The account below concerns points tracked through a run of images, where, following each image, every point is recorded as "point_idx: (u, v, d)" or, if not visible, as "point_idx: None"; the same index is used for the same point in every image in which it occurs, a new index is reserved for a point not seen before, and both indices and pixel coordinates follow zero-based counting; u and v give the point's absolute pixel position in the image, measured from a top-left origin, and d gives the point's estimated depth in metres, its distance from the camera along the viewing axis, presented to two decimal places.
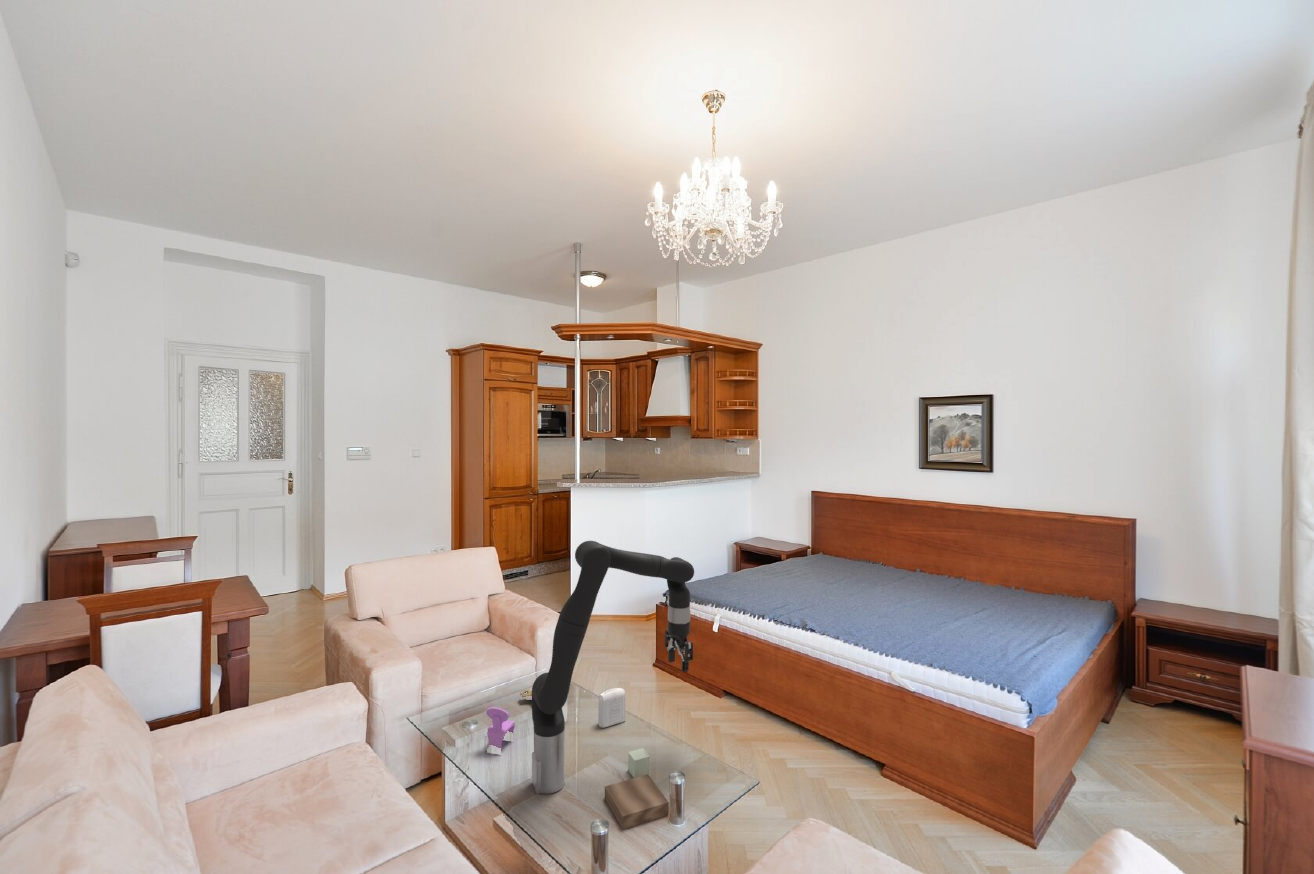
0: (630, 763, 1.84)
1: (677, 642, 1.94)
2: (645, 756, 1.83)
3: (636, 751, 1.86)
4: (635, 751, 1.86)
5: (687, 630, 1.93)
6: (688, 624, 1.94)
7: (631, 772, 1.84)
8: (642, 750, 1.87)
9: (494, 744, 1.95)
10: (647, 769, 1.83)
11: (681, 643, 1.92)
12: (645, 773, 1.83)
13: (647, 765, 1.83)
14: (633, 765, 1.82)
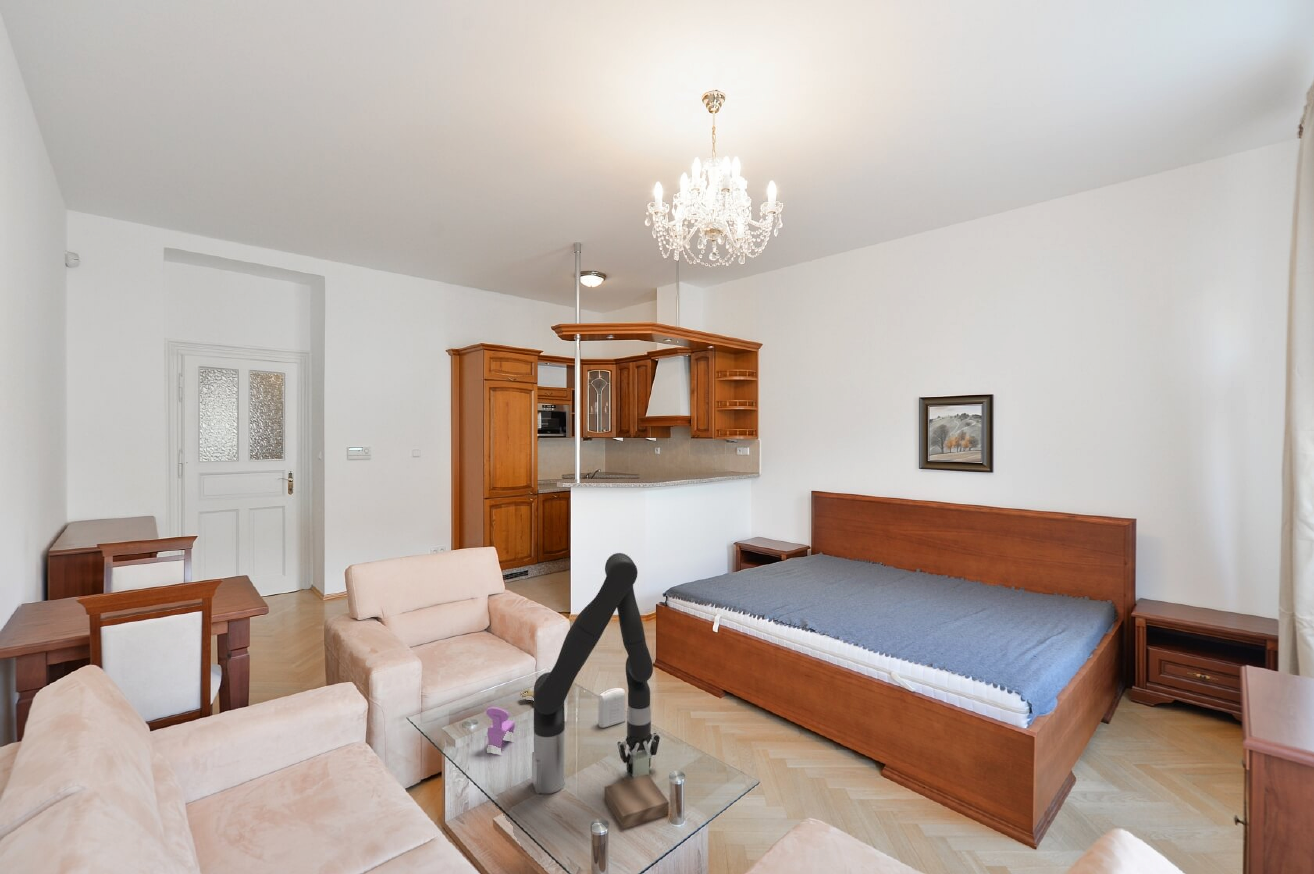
0: None
1: None
2: (645, 756, 1.83)
3: None
4: None
5: None
6: None
7: None
8: (642, 750, 1.87)
9: (494, 744, 1.95)
10: (647, 769, 1.83)
11: None
12: (645, 773, 1.83)
13: (647, 765, 1.83)
14: (633, 765, 1.82)
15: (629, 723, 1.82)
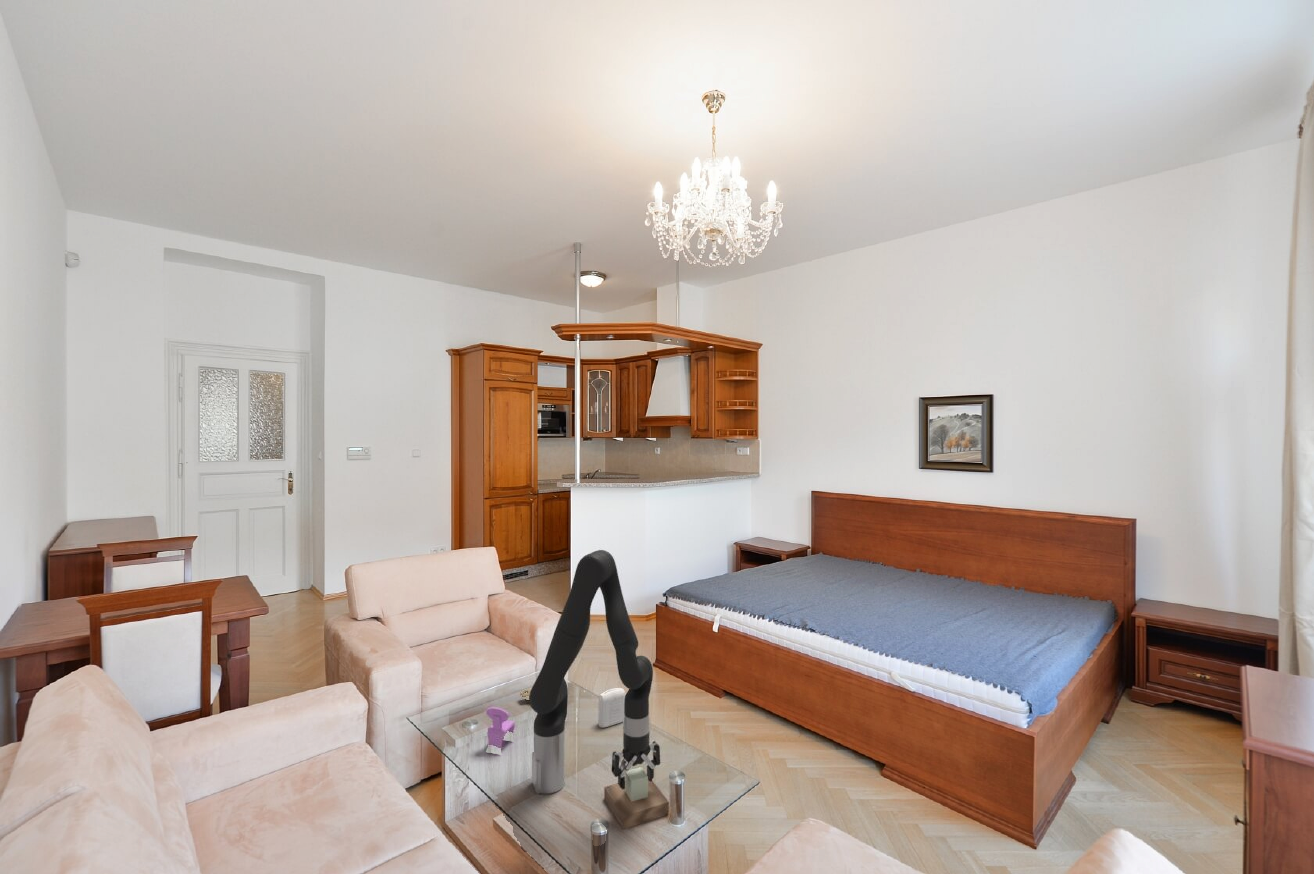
0: (627, 783, 1.69)
1: (644, 754, 1.68)
2: (643, 776, 1.68)
3: (633, 771, 1.70)
4: (633, 770, 1.70)
5: None
6: None
7: (628, 793, 1.68)
8: (640, 769, 1.71)
9: (494, 744, 1.95)
10: (645, 790, 1.68)
11: (648, 751, 1.69)
12: (643, 795, 1.67)
13: (645, 786, 1.68)
14: (630, 786, 1.66)
15: (626, 735, 1.66)
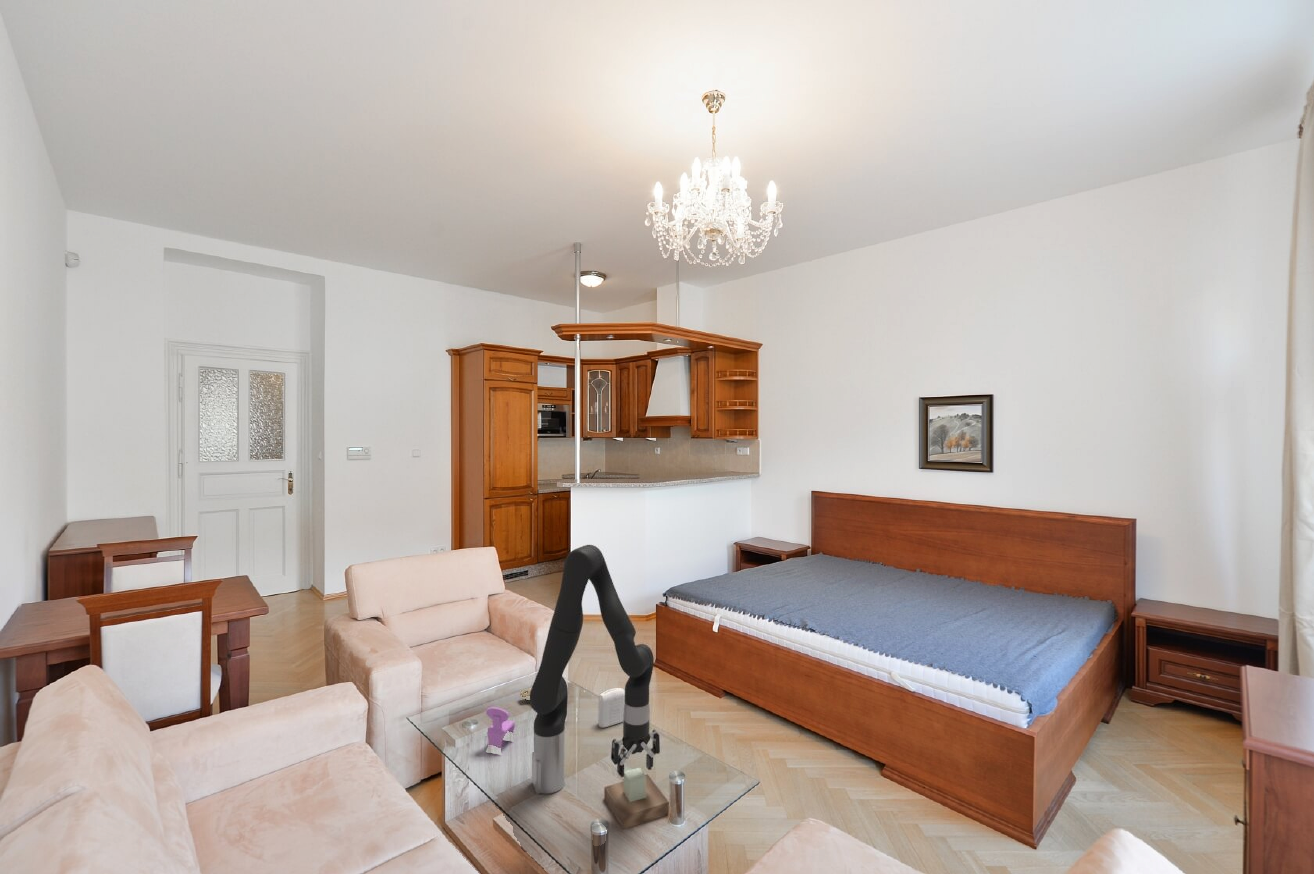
0: (626, 783, 1.68)
1: (644, 742, 1.68)
2: (642, 777, 1.67)
3: (632, 771, 1.70)
4: (631, 771, 1.70)
5: None
6: None
7: (626, 794, 1.68)
8: (639, 770, 1.71)
9: (494, 744, 1.95)
10: (644, 791, 1.67)
11: (648, 739, 1.69)
12: (642, 795, 1.67)
13: (644, 787, 1.67)
14: (629, 786, 1.66)
15: (626, 723, 1.65)
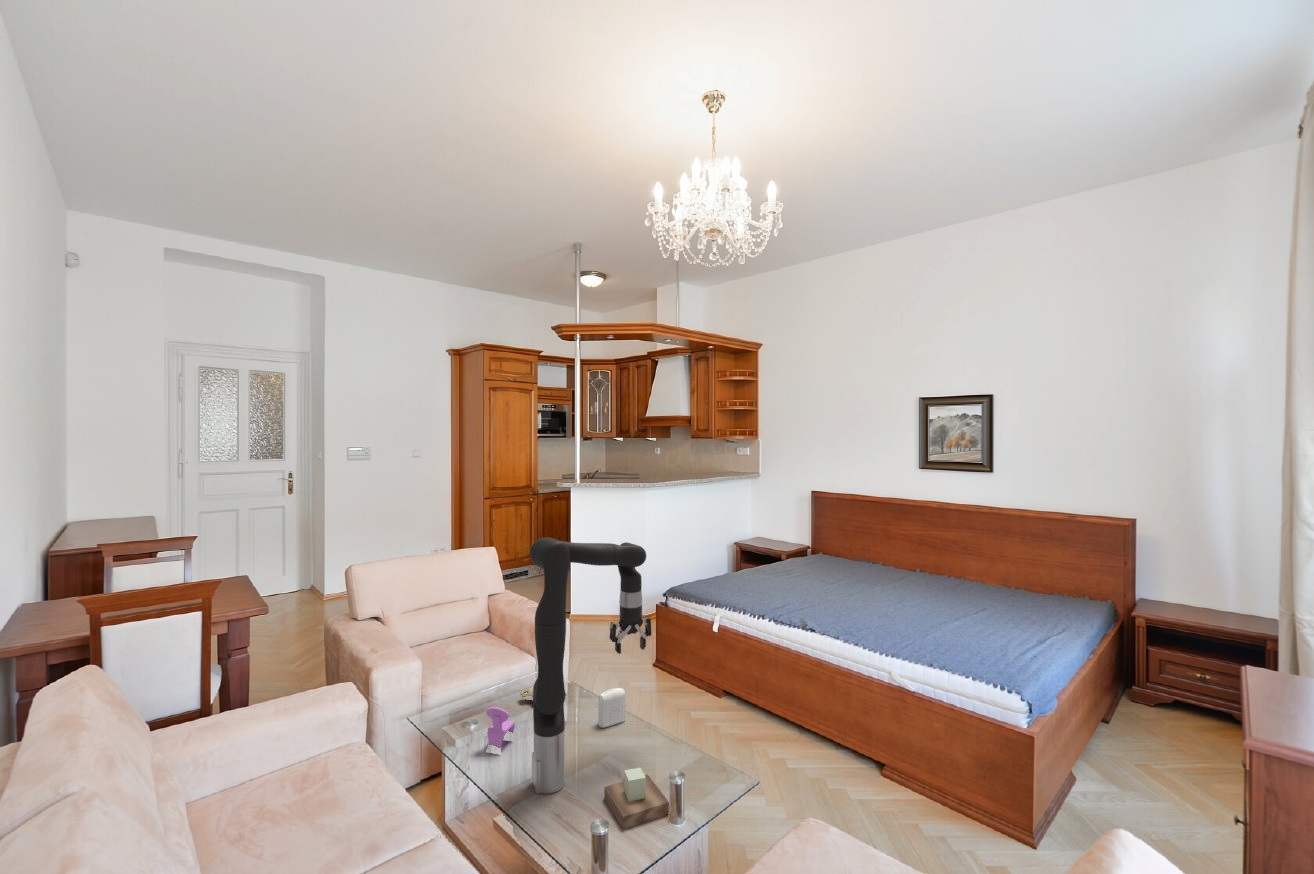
0: (626, 783, 1.69)
1: (637, 624, 1.96)
2: (641, 777, 1.67)
3: (632, 771, 1.70)
4: (632, 770, 1.70)
5: None
6: None
7: (626, 793, 1.68)
8: (640, 770, 1.71)
9: (494, 744, 1.95)
10: (643, 791, 1.67)
11: (641, 623, 1.97)
12: (641, 795, 1.67)
13: (643, 787, 1.67)
14: (628, 786, 1.66)
15: (622, 607, 1.94)
